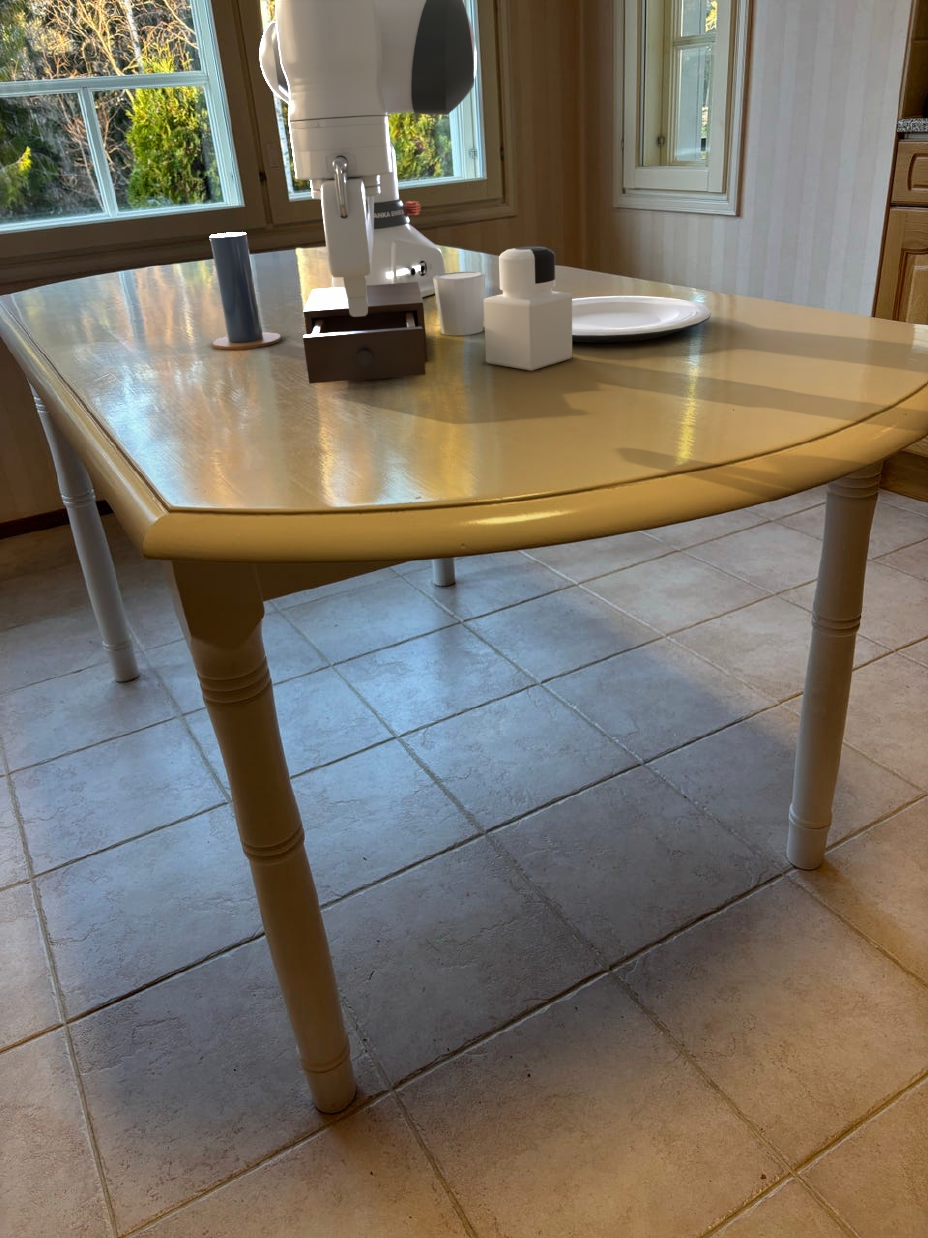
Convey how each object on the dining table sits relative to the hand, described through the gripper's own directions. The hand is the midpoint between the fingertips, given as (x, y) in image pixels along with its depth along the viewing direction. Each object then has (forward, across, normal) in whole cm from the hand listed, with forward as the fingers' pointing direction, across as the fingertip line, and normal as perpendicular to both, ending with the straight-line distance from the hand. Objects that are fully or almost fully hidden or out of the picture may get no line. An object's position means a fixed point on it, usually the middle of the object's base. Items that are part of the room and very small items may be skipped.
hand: (359, 313), depth 88 cm
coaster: (+8, +34, +17) cm, 38 cm away
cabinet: (+8, +22, 0) cm, 24 cm away
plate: (+8, +25, -31) cm, 41 cm away
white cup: (+8, +30, -12) cm, 34 cm away
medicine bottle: (+8, +11, -18) cm, 23 cm away
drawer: (+7, +11, 0) cm, 13 cm away
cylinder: (+8, +34, +17) cm, 38 cm away
